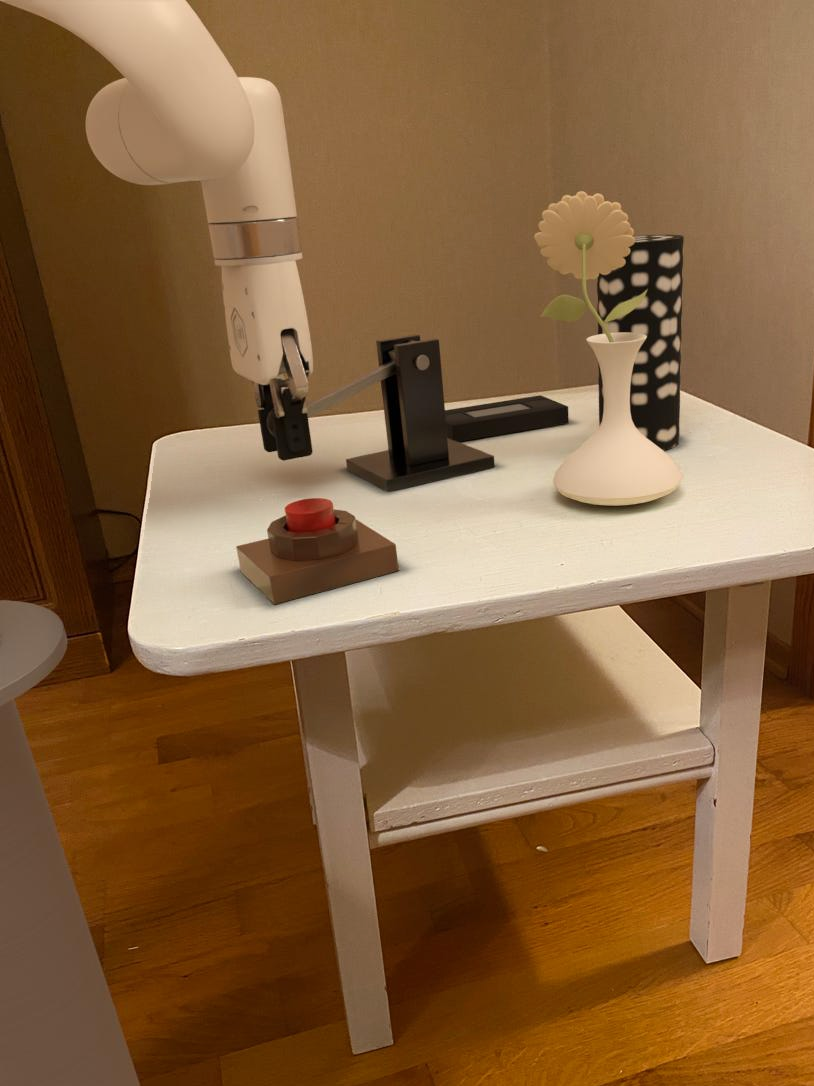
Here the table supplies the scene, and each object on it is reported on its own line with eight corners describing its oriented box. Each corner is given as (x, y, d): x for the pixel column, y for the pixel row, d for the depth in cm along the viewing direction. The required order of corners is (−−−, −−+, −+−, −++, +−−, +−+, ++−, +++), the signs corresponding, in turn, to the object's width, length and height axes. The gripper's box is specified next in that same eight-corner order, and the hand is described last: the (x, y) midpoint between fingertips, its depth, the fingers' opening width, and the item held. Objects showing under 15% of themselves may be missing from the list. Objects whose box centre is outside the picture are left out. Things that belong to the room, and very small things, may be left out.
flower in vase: (701, 484, 87) (711, 181, 76) (651, 524, 79) (654, 189, 68) (573, 471, 94) (565, 190, 83) (514, 506, 85) (497, 198, 74)
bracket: (387, 492, 92) (372, 355, 86) (346, 470, 100) (329, 343, 94) (495, 467, 97) (486, 336, 91) (448, 448, 105) (437, 326, 99)
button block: (274, 604, 69) (265, 553, 67) (240, 572, 75) (231, 524, 74) (399, 571, 73) (393, 521, 72) (357, 542, 80) (351, 496, 78)
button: (298, 539, 71) (294, 516, 70) (281, 526, 74) (277, 504, 73) (343, 528, 72) (340, 506, 71) (325, 516, 75) (322, 494, 74)
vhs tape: (430, 429, 113) (429, 412, 112) (541, 411, 117) (540, 395, 116) (453, 443, 106) (451, 425, 106) (568, 423, 111) (568, 406, 110)
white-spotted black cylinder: (598, 455, 98) (594, 245, 89) (600, 434, 106) (597, 238, 97) (680, 452, 97) (685, 239, 88) (677, 431, 104) (681, 232, 96)
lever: (282, 449, 89) (267, 417, 87) (270, 442, 91) (256, 411, 89) (433, 370, 93) (422, 339, 92) (419, 366, 96) (408, 335, 94)
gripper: (188, 246, 88) (224, 444, 96) (243, 250, 75) (280, 479, 83) (267, 238, 91) (295, 431, 99) (333, 242, 78) (359, 463, 86)
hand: (288, 451), depth 91 cm, fingers closed on lever, 3 cm apart
